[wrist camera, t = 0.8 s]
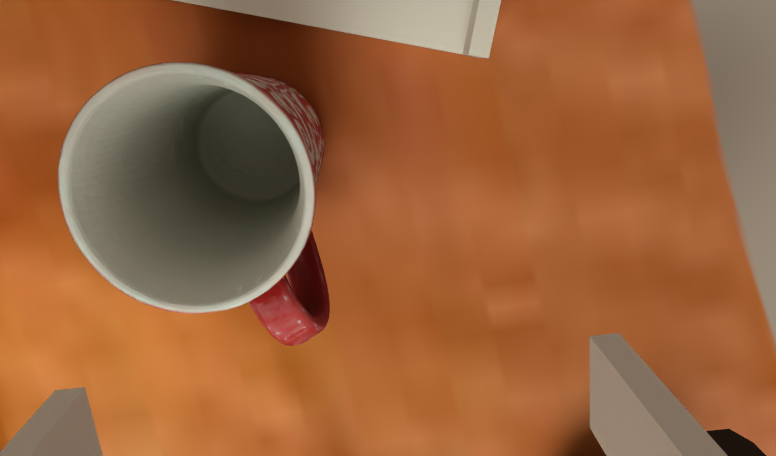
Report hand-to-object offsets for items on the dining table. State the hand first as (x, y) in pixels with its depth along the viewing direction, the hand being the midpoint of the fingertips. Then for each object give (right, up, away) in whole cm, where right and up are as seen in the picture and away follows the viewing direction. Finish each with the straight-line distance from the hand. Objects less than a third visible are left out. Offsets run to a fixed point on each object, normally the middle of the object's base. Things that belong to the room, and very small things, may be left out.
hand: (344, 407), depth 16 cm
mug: (-5, +8, +19) cm, 21 cm away
